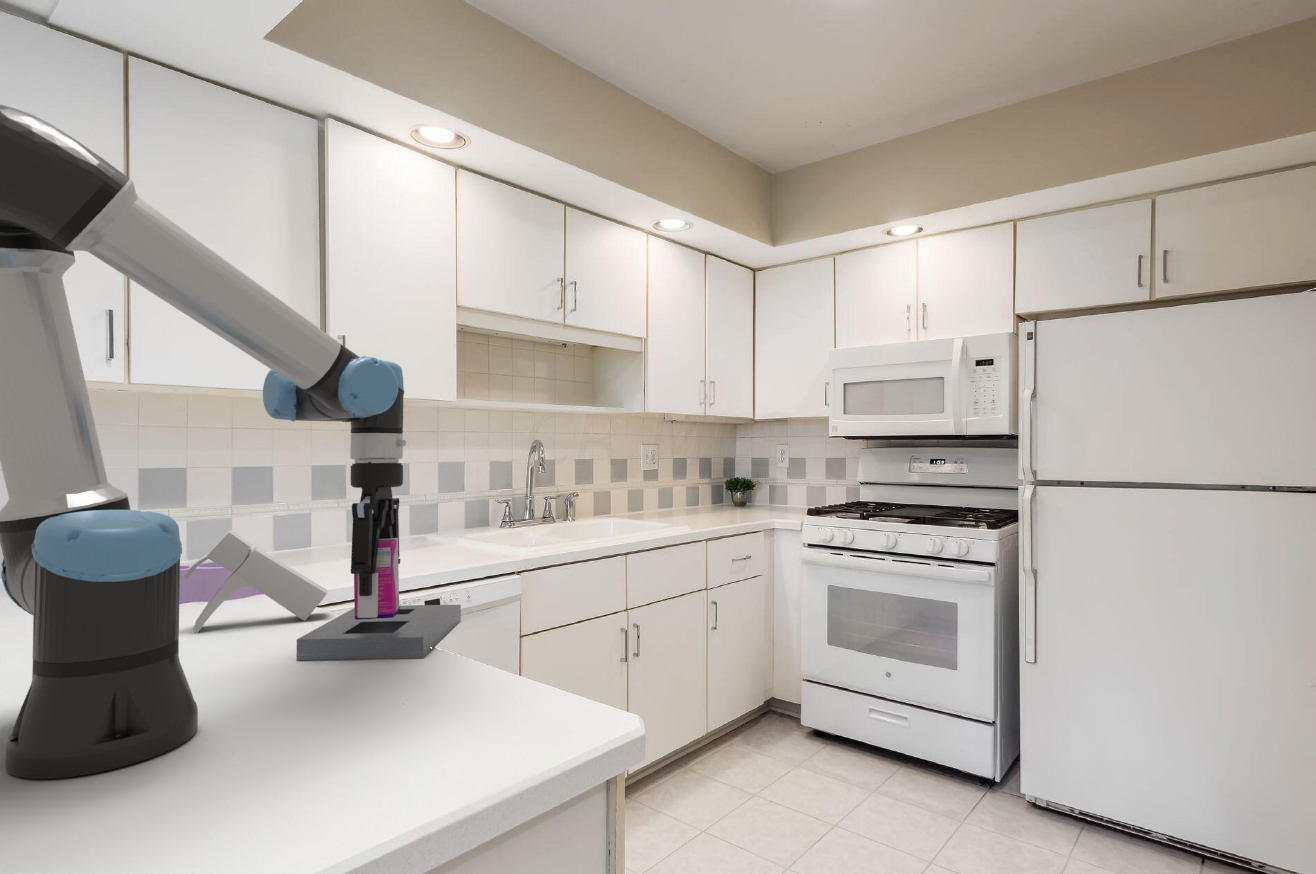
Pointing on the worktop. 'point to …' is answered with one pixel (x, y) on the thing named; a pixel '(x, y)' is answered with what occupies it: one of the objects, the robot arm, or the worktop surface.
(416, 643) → the socket plate
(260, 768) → the worktop surface
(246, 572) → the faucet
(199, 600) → the clip
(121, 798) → the worktop surface
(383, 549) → the supplement box
